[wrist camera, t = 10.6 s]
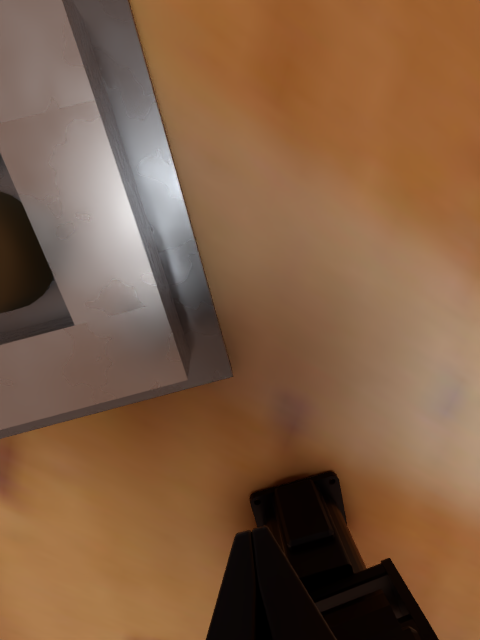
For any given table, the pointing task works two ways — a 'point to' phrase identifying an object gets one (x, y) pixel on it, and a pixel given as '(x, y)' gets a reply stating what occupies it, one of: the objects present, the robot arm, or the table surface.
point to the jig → (96, 222)
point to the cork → (20, 258)
